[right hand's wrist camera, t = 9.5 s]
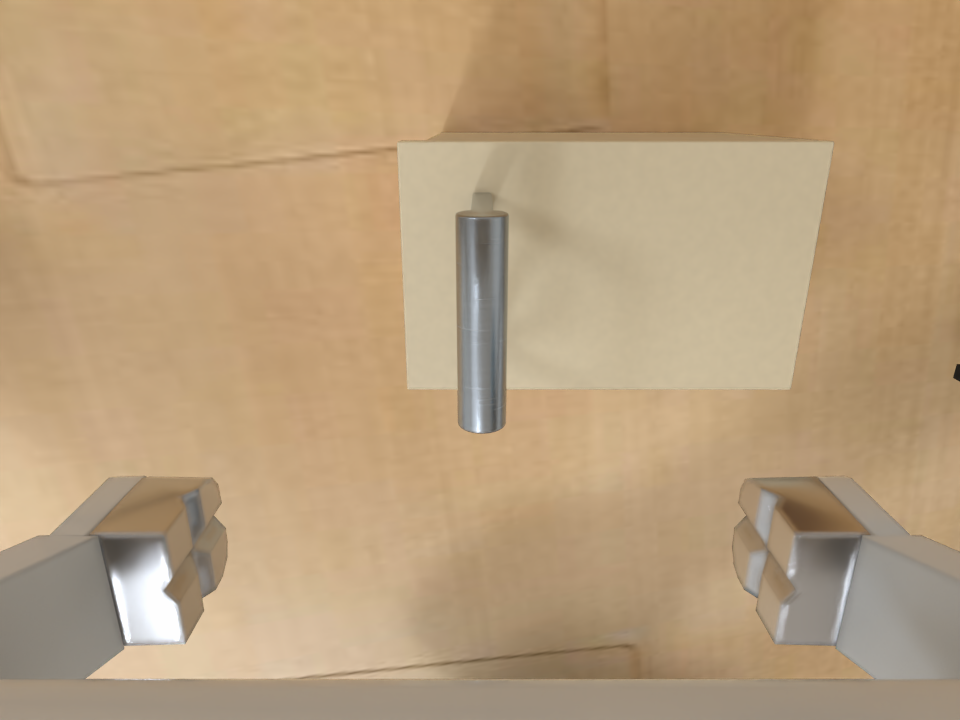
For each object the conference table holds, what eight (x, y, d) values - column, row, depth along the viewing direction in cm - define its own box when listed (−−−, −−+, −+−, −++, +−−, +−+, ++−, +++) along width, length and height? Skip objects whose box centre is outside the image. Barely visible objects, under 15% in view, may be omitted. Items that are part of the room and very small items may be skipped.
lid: (409, 381, 28) (382, 481, 21) (399, 140, 25) (362, 152, 17) (781, 381, 28) (894, 482, 21) (822, 140, 25) (976, 152, 17)
